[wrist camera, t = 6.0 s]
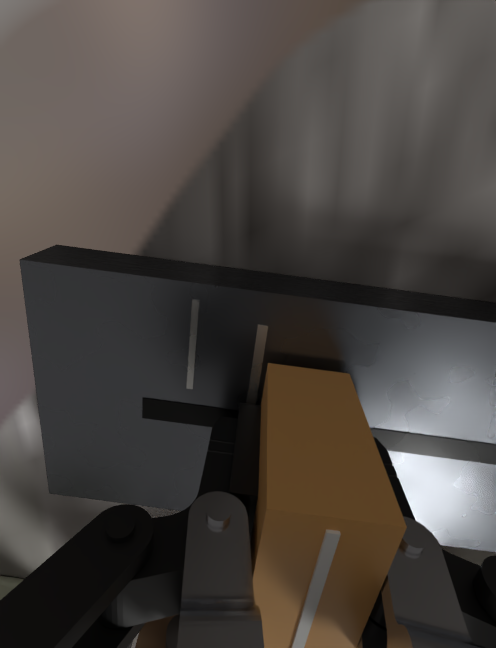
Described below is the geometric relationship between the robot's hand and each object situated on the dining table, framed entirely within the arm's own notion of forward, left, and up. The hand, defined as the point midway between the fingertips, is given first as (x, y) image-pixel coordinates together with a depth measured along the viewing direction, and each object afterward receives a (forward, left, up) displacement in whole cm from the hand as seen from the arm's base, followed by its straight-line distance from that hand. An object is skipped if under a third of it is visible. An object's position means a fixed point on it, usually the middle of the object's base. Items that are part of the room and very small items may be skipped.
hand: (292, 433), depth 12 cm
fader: (0, 0, 0) cm, 0 cm away
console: (-2, 0, -2) cm, 3 cm away
